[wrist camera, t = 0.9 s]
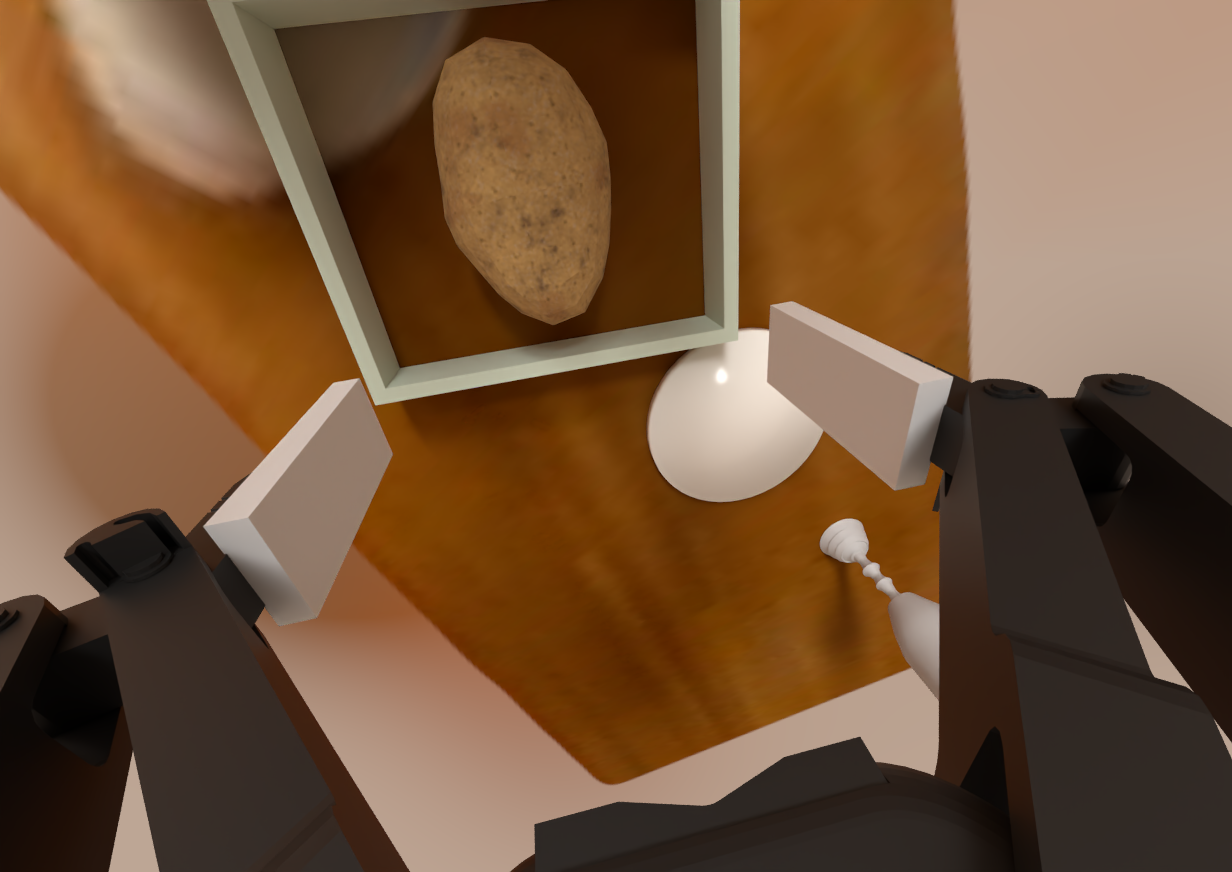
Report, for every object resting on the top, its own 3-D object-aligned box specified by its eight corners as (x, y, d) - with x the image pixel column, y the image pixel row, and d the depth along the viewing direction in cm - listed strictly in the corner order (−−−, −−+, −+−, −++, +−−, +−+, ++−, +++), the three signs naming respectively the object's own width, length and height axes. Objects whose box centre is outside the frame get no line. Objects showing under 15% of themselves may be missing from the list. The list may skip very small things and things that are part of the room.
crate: (244, 6, 24) (195, -26, 20) (711, -41, 26) (740, -77, 23) (390, 383, 34) (375, 405, 30) (717, 325, 36) (738, 340, 33)
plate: (637, 346, 36) (640, 351, 35) (830, 312, 37) (839, 315, 36) (654, 509, 44) (657, 517, 43) (814, 475, 45) (820, 482, 44)
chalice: (882, 535, 51) (1042, 689, 35) (831, 572, 52) (963, 736, 36) (853, 499, 47) (1014, 652, 32) (799, 540, 49) (929, 705, 33)
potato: (492, 322, 33) (483, 357, 26) (410, 83, 26) (368, 45, 19) (623, 289, 34) (649, 315, 27) (576, 46, 27) (594, -5, 20)
